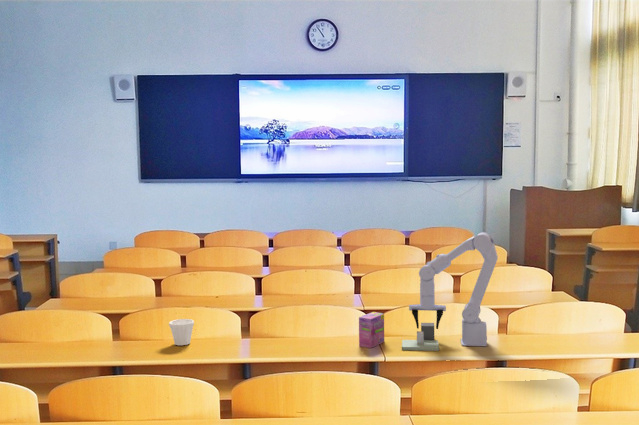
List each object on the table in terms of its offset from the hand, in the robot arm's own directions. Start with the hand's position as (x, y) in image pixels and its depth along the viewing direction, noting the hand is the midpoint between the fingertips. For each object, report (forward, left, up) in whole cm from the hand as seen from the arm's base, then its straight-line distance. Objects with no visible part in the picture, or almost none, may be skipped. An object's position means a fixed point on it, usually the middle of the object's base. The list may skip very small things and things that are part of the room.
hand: (427, 328), depth 253 cm
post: (+3, +9, -4) cm, 10 cm away
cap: (0, 0, -5) cm, 5 cm away
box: (+22, +7, -5) cm, 24 cm away
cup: (+99, +13, -5) cm, 100 cm away
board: (+3, +9, -5) cm, 11 cm away
